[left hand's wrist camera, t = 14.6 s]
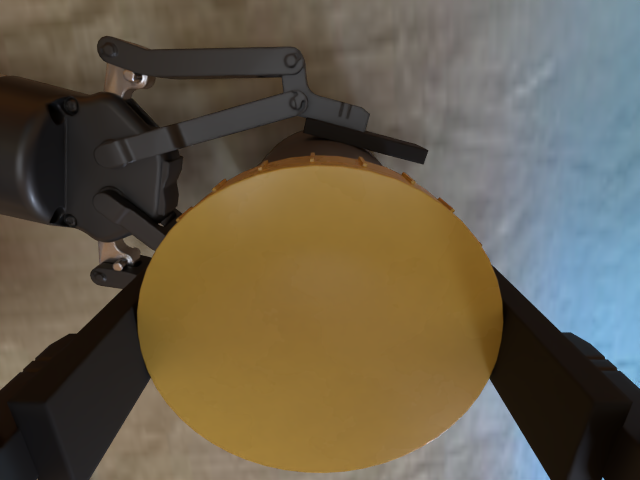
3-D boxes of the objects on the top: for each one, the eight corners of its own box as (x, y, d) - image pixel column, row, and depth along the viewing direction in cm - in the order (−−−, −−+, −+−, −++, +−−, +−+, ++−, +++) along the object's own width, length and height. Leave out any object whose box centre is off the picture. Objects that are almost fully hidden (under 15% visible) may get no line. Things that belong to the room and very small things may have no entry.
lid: (482, 415, 14) (502, 455, 12) (208, 448, 15) (195, 490, 13) (481, 123, 10) (511, 127, 8) (109, 185, 11) (72, 201, 9)
